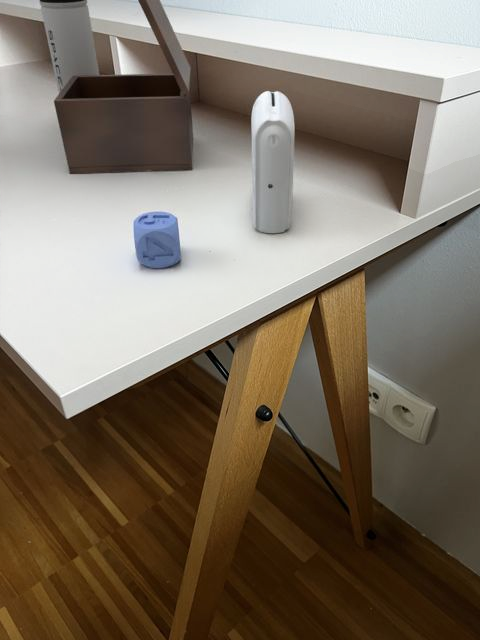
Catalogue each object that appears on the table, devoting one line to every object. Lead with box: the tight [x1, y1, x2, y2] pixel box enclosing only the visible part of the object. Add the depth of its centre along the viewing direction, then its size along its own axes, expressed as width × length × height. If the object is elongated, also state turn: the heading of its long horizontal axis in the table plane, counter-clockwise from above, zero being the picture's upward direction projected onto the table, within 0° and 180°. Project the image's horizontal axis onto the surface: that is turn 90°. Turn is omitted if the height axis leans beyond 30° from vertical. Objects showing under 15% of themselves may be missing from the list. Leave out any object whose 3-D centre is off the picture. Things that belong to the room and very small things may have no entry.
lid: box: [137, 0, 192, 95], centre depth 66 cm, size 16×13×6 cm
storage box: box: [53, 73, 194, 175], centre depth 74 cm, size 16×13×9 cm
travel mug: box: [39, 0, 100, 94], centre depth 80 cm, size 6×7×20 cm
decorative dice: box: [132, 210, 182, 269], centre depth 53 cm, size 4×4×4 cm
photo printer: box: [250, 90, 296, 234], centre depth 58 cm, size 10×4×12 cm, turn 0°
